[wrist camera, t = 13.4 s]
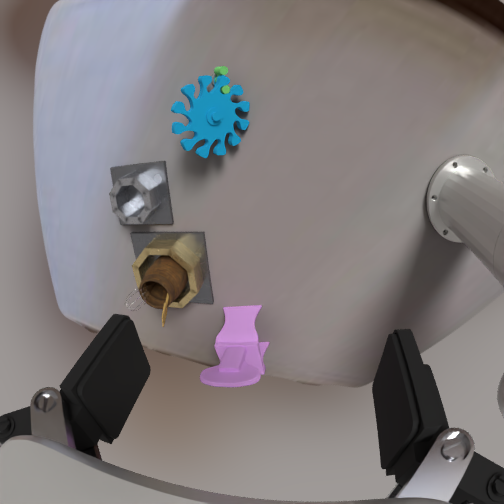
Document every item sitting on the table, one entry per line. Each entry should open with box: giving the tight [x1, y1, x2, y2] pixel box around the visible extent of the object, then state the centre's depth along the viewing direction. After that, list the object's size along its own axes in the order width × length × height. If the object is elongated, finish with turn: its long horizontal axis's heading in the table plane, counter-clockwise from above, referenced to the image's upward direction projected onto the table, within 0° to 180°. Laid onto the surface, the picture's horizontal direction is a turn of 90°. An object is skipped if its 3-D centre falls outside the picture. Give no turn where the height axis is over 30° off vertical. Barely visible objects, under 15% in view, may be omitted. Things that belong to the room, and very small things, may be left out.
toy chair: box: [200, 305, 270, 387], centre depth 42 cm, size 8×9×15 cm
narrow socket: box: [109, 161, 174, 225], centre depth 40 cm, size 9×9×4 cm
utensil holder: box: [125, 255, 189, 327], centre depth 40 cm, size 6×6×12 cm
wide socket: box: [131, 232, 214, 308], centre depth 44 cm, size 12×12×4 cm
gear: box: [171, 66, 249, 158], centre depth 33 cm, size 11×6×10 cm
